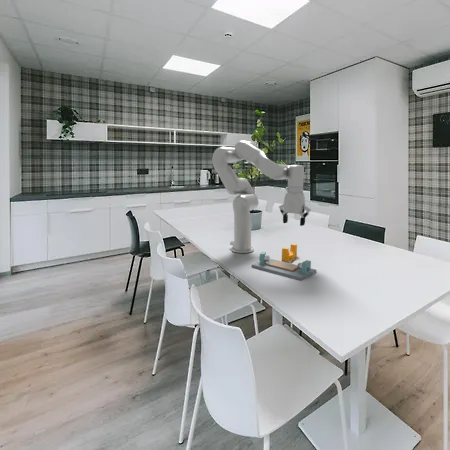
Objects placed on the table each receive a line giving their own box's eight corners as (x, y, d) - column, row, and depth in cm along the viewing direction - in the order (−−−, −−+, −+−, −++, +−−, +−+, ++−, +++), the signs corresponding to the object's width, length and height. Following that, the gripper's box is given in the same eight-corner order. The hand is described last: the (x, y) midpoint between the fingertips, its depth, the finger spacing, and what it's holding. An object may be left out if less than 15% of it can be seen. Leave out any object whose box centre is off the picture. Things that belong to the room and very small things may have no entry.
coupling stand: (251, 267, 146) (251, 254, 145) (268, 260, 156) (268, 248, 155) (300, 280, 129) (301, 266, 127) (316, 272, 139) (317, 258, 138)
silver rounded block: (297, 270, 135) (297, 263, 135) (300, 268, 138) (300, 261, 137) (306, 272, 132) (306, 265, 132) (309, 270, 135) (310, 264, 134)
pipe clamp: (289, 262, 154) (290, 249, 153) (281, 260, 156) (282, 248, 155) (299, 256, 163) (300, 245, 162) (292, 255, 166) (292, 243, 164)
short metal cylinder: (259, 261, 147) (259, 255, 147) (260, 260, 150) (260, 254, 149) (268, 262, 146) (268, 256, 145) (269, 260, 149) (269, 254, 148)
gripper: (276, 189, 156) (275, 222, 159) (307, 191, 144) (305, 227, 147) (284, 188, 161) (282, 221, 164) (314, 190, 149) (312, 225, 153)
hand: (293, 224), depth 156 cm, fingers open, 9 cm apart
